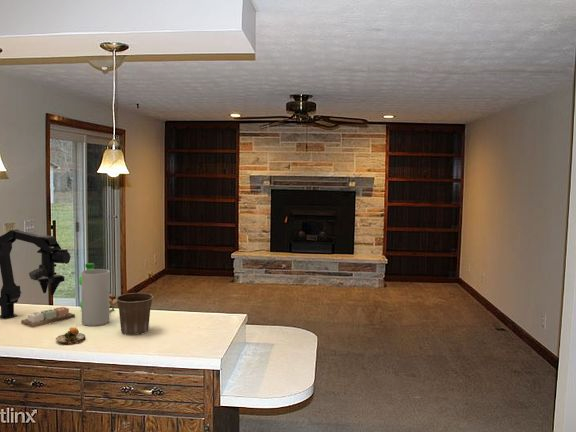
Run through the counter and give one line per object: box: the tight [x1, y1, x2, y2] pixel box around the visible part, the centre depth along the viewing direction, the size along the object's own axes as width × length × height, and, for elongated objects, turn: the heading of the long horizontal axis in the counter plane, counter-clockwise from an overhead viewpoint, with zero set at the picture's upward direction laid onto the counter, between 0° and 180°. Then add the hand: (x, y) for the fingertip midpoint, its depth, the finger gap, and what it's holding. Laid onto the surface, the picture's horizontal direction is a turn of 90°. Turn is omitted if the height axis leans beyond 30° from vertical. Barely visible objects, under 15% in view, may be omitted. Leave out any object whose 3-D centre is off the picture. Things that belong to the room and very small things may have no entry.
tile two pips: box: [40, 308, 57, 320], centre depth 242 cm, size 5×5×3 cm
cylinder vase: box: [80, 268, 110, 327], centre depth 240 cm, size 12×12×25 cm
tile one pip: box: [27, 311, 44, 323], centre depth 236 cm, size 5×5×3 cm
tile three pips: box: [53, 306, 70, 317], centre depth 247 cm, size 5×5×3 cm
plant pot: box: [115, 292, 154, 336], centre depth 229 cm, size 16×16×16 cm
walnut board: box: [20, 312, 76, 329], centre depth 242 cm, size 10×21×2 cm, turn 146°
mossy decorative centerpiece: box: [55, 325, 86, 346], centre depth 214 cm, size 12×12×8 cm
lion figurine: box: [109, 298, 115, 311], centre depth 257 cm, size 15×5×9 cm, turn 8°
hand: (48, 294), depth 241 cm, fingers open, 6 cm apart
